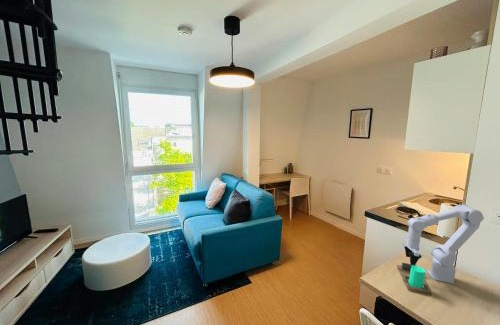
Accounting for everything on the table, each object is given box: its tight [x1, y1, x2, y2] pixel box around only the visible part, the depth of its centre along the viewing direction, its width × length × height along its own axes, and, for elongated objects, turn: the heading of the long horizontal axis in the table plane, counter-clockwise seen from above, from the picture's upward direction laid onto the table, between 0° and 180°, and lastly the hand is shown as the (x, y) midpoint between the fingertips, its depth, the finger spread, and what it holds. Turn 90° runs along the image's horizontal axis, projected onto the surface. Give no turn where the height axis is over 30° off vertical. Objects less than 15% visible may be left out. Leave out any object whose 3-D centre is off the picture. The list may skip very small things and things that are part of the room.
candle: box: [408, 265, 427, 289], centre depth 111 cm, size 6×6×12 cm
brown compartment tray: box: [396, 261, 433, 297], centre depth 117 cm, size 20×10×5 cm, turn 159°
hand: (410, 260), depth 122 cm, fingers open, 7 cm apart
